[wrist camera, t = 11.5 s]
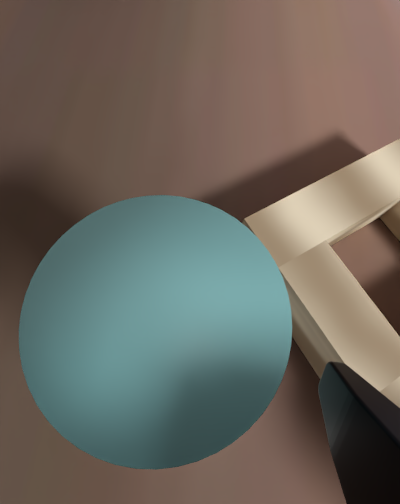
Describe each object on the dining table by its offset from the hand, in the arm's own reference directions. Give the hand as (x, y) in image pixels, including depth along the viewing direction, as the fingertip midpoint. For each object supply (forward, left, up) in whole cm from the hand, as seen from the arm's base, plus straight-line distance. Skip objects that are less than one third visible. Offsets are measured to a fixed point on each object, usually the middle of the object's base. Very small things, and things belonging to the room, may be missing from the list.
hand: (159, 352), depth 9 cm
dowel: (0, 0, -10) cm, 10 cm away
